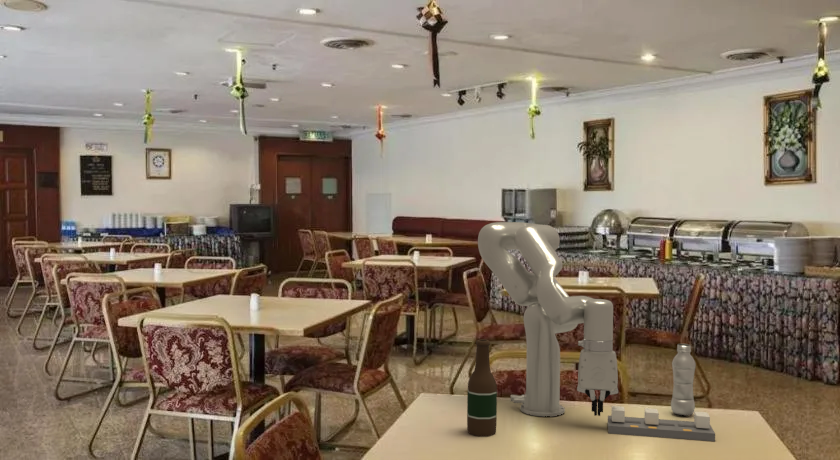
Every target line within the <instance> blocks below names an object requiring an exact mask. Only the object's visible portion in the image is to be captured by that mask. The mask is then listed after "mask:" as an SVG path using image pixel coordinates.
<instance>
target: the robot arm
mask: <svg viewBox="0 0 840 460" xmlns="http://www.w3.org/2000/svg"><path fill="white" fill-rule="evenodd" d="M559 246H560V235H559V233H558V231H557V230H556V228H554V227H553V226H552V225H549V224H540V223H539V224H538V223H533V222H531V223H530V222H529V223H528V222H522V221H520V222H519V221H517V222H513V221H509V222H508V221H500V222H499V221H498V222H491V223H488V224H485V225H484V226H483V227H481V229H480V231H479V233H478V237H477V247H478V252H479V255H480V256H481V259H482V260H483V262H484V263H485V265H486V266H487V267H488V268H489V269H490V270H491V272H492V273H493V274H494V275H495V277H496V278H497V279H498V281H499V283H500V284H501V285H502V286H503V288H504V290H505V291H506V293H507V294H508V295H509V297H510V298H511V299H512V300H513V302H514V303H515V304H516V305H518V306H521V307H526V308H525V311H524V313H523V324H524V325H523V326H524V332H525V339H526V371H525V372H526V374H525V375H526V376H525V377H526V378H525V379H526V380H525V383H526V384H525V393H524V394H523V393H522V394H521V395H518V394H511V395H510V402H513V403H514V404H520V412H522V413H524V414H526V415H529V414H530V415H531V416H536V417H545V416H546V417H547V416H550V417H558V416H557V415H559V416H561V414H562V415H564V414H565V413H564V412H566V408H565V407H564V406H563V405H561V404H560V401H561V399H560V394H561V392H560V390H561V387H560V386H561V347H560V343H559V341H558V338H557V336H556V334H559V333H560V334H561V333H567V332H570V331H573V330H575V329H576V328H577V327H578V325H579V324H583V339H582V340H578V341H577V342H578V344H577V346H578V347H579V346H580V347H582V349H581V351H580V353H579V359H578V371H577V387H576V391H577V392H579V393H583V394H585V395H587V397H588V398H589V399H590V400H591V412H592V413H594V414H593V415H594V416H595V417H596V416H598V417H601V413H604V401H605V399H607V398H608V397H609V396H610V395H611V396H612V395H617V394H619V388H618V382H619V380H618V379H619V378H618V360H617V354H616V351H615V350H613V349H614V348H613V347H614V346H613V343H614V341H613V340H614V337H613V336H614V305H613V302H612V301H611V300H609V299H602V298H593V297H590V296H586V295H573V296H572V295H571V296H569V294H568V293H567V292H566V290H565V289H564V288H563V286H562V285H561V284H560V282H559V281H558V280H557V279H556V278H555V277H556V276H557V275H558V274H559V273H560V272H561V270H562V268H563V261H562V260H561V258H560V257H559V255H558V253H556V250H557V249H558V248H559ZM508 250H511V251H513V250H518V251H519V253H520V254H521V256H522V257H523V259H524V260H525V262H526V263H527V265H528V266H529V268H530V270H531V272H530V271H529V270H527V268H526V267H525V266H524V265H523V263H522V262H521V260H520V259H519V258H518V257H516V256H515V255H513V254H512V253H511V252H510V251H508ZM595 391H599V396H598V398H597V396H596V393H595ZM563 413H564V414H563Z"/></svg>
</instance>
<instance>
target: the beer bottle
mask: <svg viewBox="0 0 840 460" xmlns="http://www.w3.org/2000/svg"><path fill="white" fill-rule="evenodd" d="M475 345H476V351H475V365H474V370H473V372H472V373H471V374H470V377H469V378H468V382H467V399H466V400H467V402H466V403H467V408H466V409H467V411H466V412H467V413H466V426H467V427H466V428H467V431H468V433H469V435H471V436H474V437H491V436H494V435H496V433H497V417H498V416H497V415H498V414H497V410H498V409H497V407H498V398H497V397H498V390H497V389H498V388H497V381H496V379H495V377H494V375H493V373H492V372H491V371H492V370H491V366H490V365H491V364H490V345H491V343H490V340H488V339H484V338H481V339H477V340H476V341H475Z"/></svg>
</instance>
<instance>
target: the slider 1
mask: <svg viewBox="0 0 840 460" xmlns="http://www.w3.org/2000/svg"><path fill="white" fill-rule="evenodd" d="M625 412H626V411H625V406H619V405H617V406H616V405H611V415H610V416H611V417H612V421H613V422H625V417H626V416H625V414H626V413H625Z"/></svg>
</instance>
